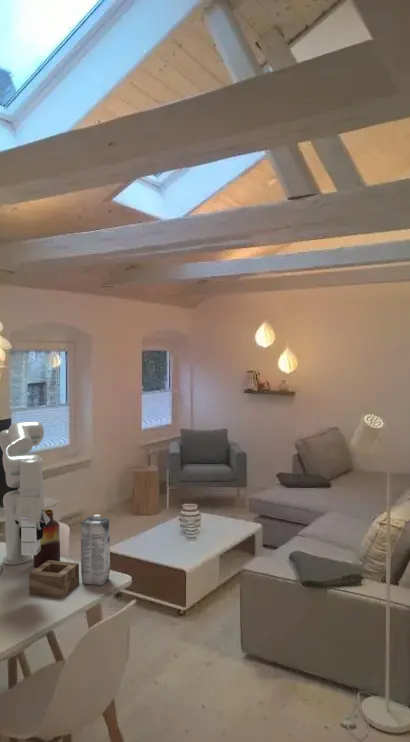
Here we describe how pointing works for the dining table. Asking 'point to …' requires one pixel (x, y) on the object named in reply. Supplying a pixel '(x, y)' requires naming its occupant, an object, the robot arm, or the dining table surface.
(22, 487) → the robot arm
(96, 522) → the juice carton
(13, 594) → the dining table surface
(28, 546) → the syrup box
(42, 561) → the vase
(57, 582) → the socket block
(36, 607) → the dining table surface
